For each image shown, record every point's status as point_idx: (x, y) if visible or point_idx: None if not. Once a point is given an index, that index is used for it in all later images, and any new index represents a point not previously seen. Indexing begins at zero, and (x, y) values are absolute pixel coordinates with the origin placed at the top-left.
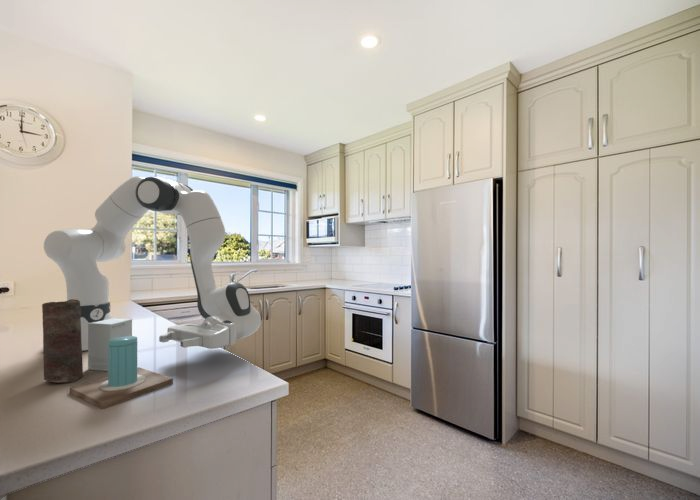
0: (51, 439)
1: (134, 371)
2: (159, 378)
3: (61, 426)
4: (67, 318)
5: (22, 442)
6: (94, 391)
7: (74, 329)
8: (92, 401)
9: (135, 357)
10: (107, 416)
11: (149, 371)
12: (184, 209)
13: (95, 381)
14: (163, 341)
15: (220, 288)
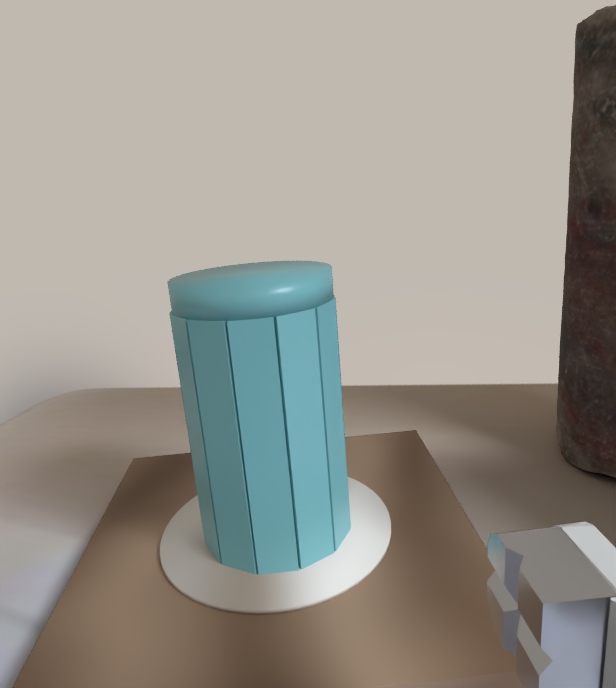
0: (102, 415)
1: (203, 492)
2: (112, 664)
3: (147, 426)
4: (580, 124)
5: (155, 396)
6: None
7: (600, 196)
8: None
9: (193, 412)
10: (63, 478)
11: (351, 679)
12: None
13: (418, 475)
14: (494, 612)
15: None
